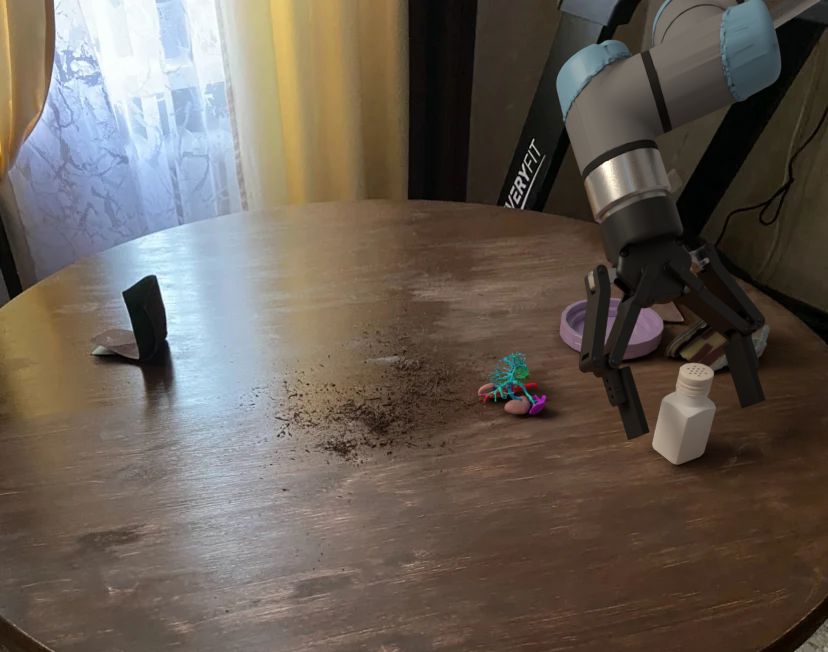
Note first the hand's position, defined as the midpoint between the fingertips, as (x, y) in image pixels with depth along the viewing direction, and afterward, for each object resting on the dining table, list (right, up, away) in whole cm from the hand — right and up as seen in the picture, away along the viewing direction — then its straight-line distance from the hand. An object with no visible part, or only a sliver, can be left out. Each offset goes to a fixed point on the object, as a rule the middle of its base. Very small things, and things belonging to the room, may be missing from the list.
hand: (697, 420), depth 81 cm
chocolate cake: (+9, +10, +19) cm, 23 cm away
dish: (-3, +13, +22) cm, 26 cm away
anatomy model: (-17, +3, +12) cm, 21 cm away
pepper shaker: (-1, -3, +5) cm, 6 cm away
